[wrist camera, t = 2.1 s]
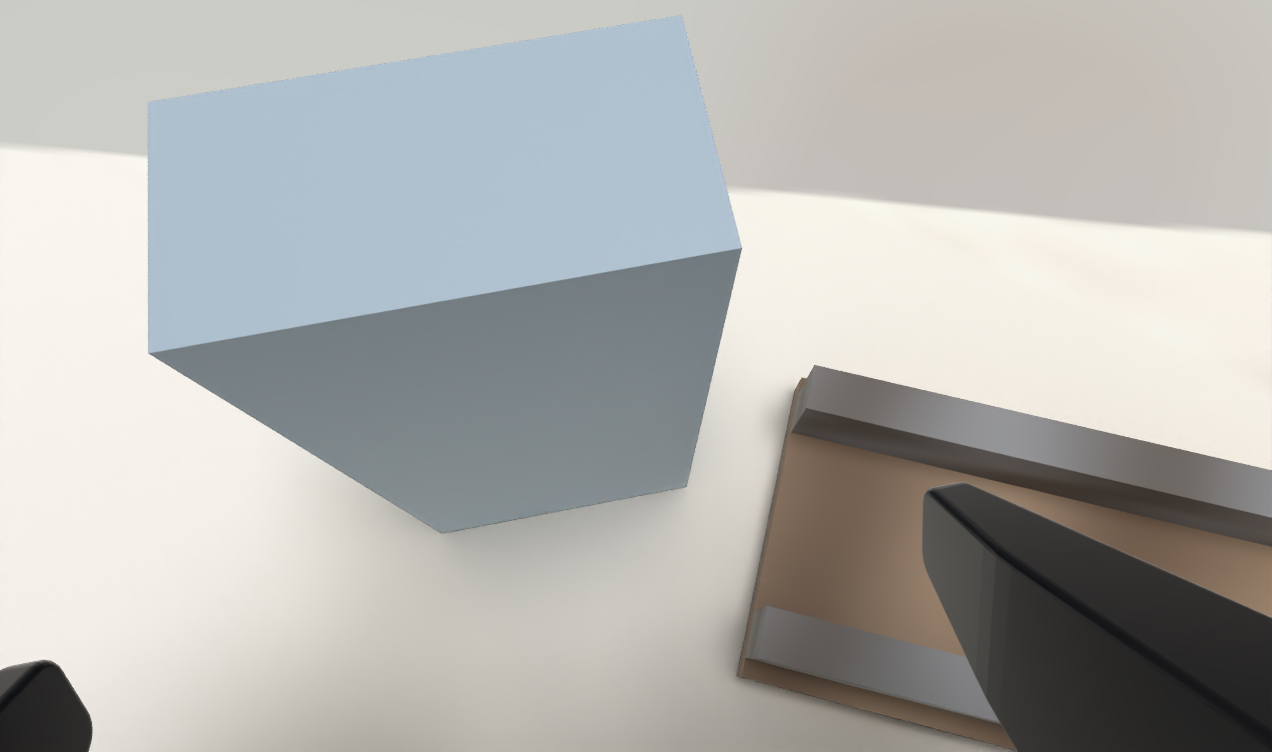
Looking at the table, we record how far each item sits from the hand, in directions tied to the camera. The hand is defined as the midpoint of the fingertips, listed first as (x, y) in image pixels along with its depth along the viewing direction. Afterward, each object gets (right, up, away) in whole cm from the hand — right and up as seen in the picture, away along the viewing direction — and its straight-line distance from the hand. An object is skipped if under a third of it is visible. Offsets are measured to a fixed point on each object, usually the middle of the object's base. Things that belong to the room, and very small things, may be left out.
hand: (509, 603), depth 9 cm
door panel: (-1, +1, +12) cm, 12 cm away
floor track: (+11, -3, +11) cm, 16 cm away
